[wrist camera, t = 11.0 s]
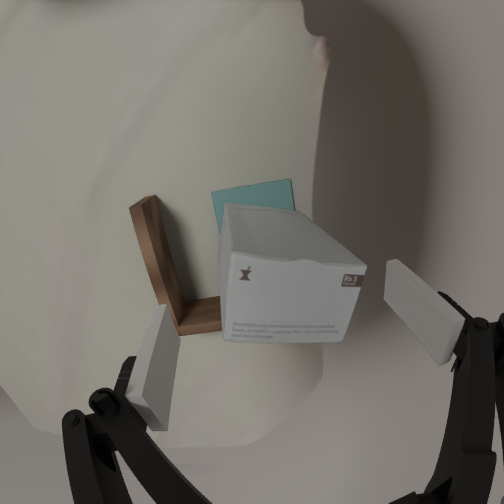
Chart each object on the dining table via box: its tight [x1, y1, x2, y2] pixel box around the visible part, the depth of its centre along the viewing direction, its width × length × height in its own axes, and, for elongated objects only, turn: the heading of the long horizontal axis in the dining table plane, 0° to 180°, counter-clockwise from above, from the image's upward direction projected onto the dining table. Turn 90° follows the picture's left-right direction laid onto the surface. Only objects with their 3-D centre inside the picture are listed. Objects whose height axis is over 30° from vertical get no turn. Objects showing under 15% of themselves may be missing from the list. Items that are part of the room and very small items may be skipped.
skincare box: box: [218, 202, 367, 343], centre depth 22 cm, size 8×6×15 cm
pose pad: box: [212, 179, 294, 235], centre depth 29 cm, size 10×8×1 cm
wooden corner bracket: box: [129, 195, 222, 336], centre depth 27 cm, size 14×16×5 cm
